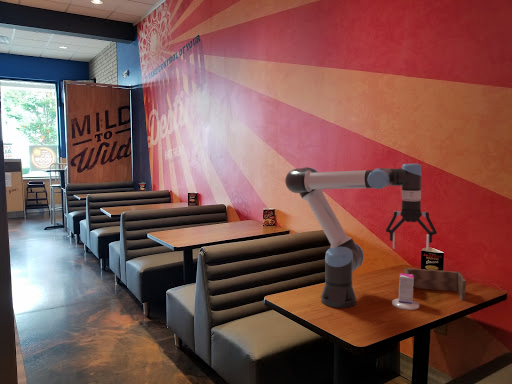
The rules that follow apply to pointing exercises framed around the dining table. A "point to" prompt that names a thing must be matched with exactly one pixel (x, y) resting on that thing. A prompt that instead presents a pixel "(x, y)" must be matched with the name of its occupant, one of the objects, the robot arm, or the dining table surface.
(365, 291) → the dining table surface
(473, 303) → the dining table surface
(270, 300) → the dining table surface
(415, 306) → the pebble
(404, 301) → the supplement box
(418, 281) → the cubby
